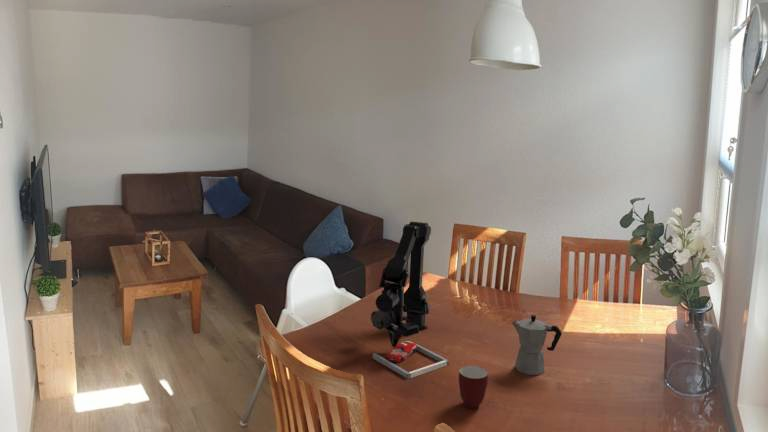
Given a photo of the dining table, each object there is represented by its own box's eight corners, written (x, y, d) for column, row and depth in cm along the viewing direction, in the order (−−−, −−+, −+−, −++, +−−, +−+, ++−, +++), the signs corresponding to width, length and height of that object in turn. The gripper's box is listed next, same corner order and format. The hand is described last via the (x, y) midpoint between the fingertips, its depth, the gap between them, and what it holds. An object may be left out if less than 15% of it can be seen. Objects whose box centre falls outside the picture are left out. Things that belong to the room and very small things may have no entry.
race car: (398, 365, 202) (398, 353, 201) (384, 361, 205) (384, 349, 204) (419, 351, 213) (419, 340, 212) (405, 347, 216) (406, 336, 215)
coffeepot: (505, 371, 199) (509, 317, 195) (511, 359, 207) (515, 307, 204) (556, 380, 193) (560, 325, 190) (560, 368, 202) (564, 314, 198)
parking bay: (412, 346, 216) (412, 341, 216) (448, 364, 203) (449, 360, 202) (372, 358, 206) (372, 354, 206) (408, 378, 192) (408, 374, 192)
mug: (463, 392, 185) (465, 360, 183) (490, 397, 182) (492, 365, 180) (454, 408, 175) (455, 375, 173) (482, 414, 172) (484, 380, 170)
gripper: (358, 298, 210) (357, 342, 213) (393, 315, 195) (392, 362, 199) (384, 292, 217) (383, 335, 220) (420, 308, 202) (419, 354, 205)
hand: (393, 346), depth 211 cm, fingers closed
